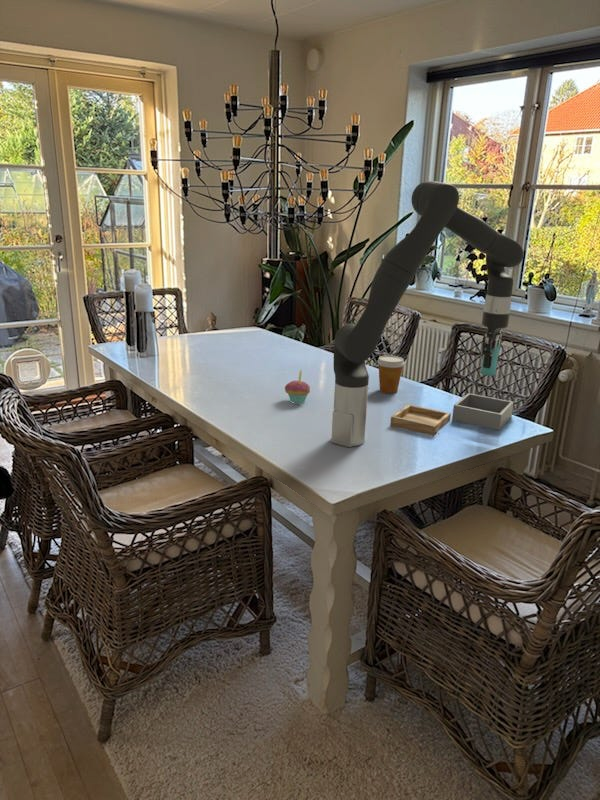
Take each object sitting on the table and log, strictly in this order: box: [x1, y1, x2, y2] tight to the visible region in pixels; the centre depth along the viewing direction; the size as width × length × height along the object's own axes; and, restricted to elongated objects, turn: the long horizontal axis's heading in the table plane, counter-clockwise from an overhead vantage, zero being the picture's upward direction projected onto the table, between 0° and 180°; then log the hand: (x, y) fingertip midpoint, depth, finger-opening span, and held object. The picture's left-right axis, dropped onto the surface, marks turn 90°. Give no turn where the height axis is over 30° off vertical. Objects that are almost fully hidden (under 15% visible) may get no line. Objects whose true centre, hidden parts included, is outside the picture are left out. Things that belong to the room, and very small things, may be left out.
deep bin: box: [451, 392, 515, 431], centre depth 191 cm, size 15×15×6 cm
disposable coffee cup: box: [376, 355, 405, 394], centre depth 218 cm, size 10×10×12 cm
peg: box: [480, 344, 501, 376], centre depth 186 cm, size 4×4×9 cm
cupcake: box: [284, 370, 311, 404], centre depth 203 cm, size 9×8×12 cm
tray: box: [389, 404, 452, 437], centre depth 188 cm, size 14×14×3 cm
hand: (488, 365), depth 186 cm, fingers closed on peg, 4 cm apart
